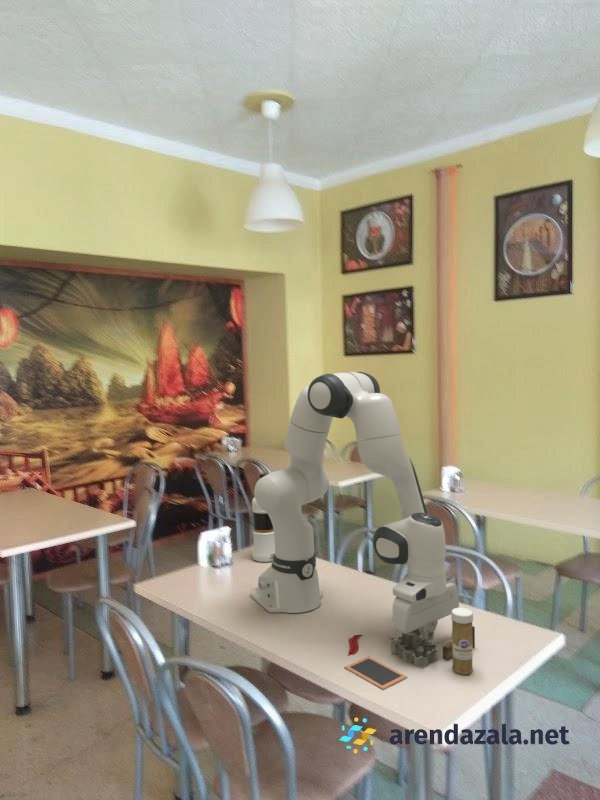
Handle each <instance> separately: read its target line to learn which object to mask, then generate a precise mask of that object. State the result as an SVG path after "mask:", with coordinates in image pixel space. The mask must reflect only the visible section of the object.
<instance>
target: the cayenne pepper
mask: <svg viewBox="0 0 600 800" xmlns="http://www.w3.org/2000/svg"><path fill="white" fill-rule="evenodd" d="M362 636H363V634H354V635H352V637H350V638H348V643H349V651H348V655H347V657H348V656H349V657H350V656H354V655H355V654H357V653H358V652H357V651H359V646H360V645H359V642H358V641H359V639H360V637H362Z"/></svg>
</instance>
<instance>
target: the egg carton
mask: <svg viewBox="0 0 600 800" xmlns="http://www.w3.org/2000/svg"><path fill="white" fill-rule="evenodd" d="M388 639H390V641H391V644H390V645H391V648H390V649H391V654H392V656H394V657H396V656H400V657H402V660H403V661H406V662H412V663H414V666H415V667H419V668H420V667H424V668H426V667H428V666H429V662H436V661H438V648H439V647H440V645H441V644H440V643H434V642H432V641H430V640H428V639H424V638H421V636H418V635H417V634H415V633H407V634H406V635H404V634H403V636H402V635H401V636H400V635H398V637H397V639H395V637H393V636H388ZM410 646H411V647H412V650H410V649H405V647H410Z"/></svg>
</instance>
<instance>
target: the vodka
mask: <svg viewBox="0 0 600 800" xmlns="http://www.w3.org/2000/svg"><path fill="white" fill-rule="evenodd" d="M267 474H268V473H267ZM267 474H266V473H260V474H259V479H261V478H262V477H264V476H266V475H267ZM251 507H252V509H251V510H252V527H253V529H252V534H253V547H252V554H251V557H252V559H253V560H254V561H255V562H257V561H258V563H272V562H271V561H273V558H271V559H270V557H272V556H274V555H272V554H275V540H274V529H273V525H272V522H271V519H270V517H269V515H268V514H267V512H266V511H264V510H263V509H261V508H260V506H259V505H258V504H257V502H256V499H255V496H254V497H253V498H252V500H251ZM270 555H272V556H270Z"/></svg>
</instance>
